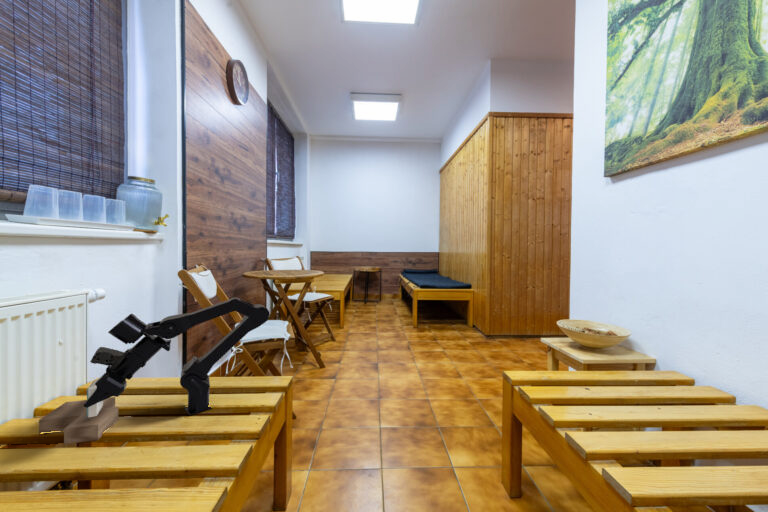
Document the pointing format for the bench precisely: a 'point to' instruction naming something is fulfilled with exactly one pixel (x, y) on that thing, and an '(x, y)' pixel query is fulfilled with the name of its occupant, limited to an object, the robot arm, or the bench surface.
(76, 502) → the bench surface
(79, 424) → the platform
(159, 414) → the bench surface
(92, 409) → the tile
